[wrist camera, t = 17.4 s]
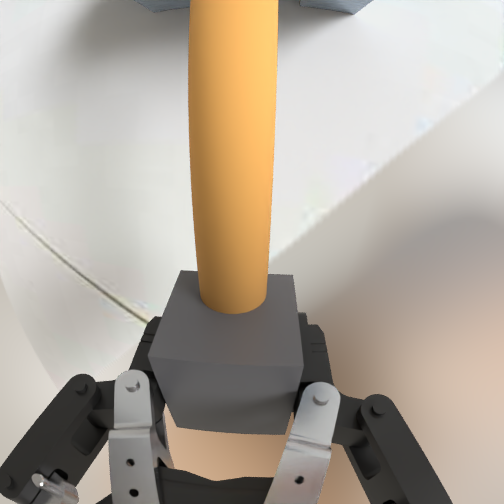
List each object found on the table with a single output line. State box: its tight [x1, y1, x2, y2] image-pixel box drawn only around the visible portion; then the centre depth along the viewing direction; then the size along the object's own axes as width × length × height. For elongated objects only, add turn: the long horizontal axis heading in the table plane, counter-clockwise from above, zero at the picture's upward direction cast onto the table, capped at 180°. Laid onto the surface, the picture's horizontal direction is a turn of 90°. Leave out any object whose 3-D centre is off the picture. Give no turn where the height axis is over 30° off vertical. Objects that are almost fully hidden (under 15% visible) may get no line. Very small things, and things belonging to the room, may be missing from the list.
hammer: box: [148, 0, 304, 435], centre depth 8 cm, size 4×17×4 cm, turn 179°
